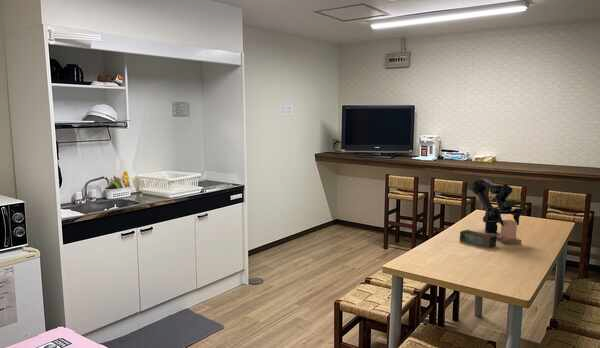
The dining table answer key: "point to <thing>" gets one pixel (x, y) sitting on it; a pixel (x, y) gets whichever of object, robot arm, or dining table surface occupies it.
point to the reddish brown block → (509, 229)
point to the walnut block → (508, 240)
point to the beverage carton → (478, 238)
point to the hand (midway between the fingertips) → (510, 225)
